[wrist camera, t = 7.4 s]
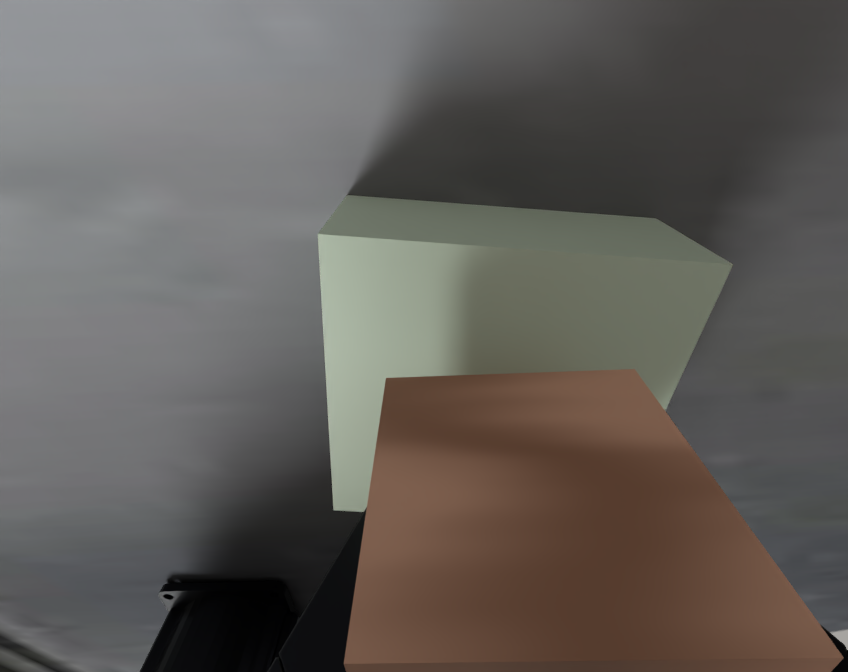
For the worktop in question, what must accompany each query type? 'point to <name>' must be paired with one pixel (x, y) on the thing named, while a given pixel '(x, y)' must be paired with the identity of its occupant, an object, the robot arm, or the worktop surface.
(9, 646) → the worktop surface
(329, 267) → the sage base block
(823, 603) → the worktop surface
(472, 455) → the terracotta cube
